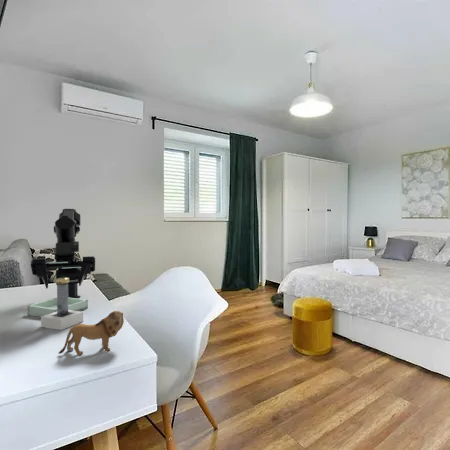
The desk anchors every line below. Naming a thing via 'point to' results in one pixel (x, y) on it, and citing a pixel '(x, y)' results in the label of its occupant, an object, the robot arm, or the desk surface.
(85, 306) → the tray
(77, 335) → the lion figurine
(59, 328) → the socket block
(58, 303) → the pin
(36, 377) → the desk surface
